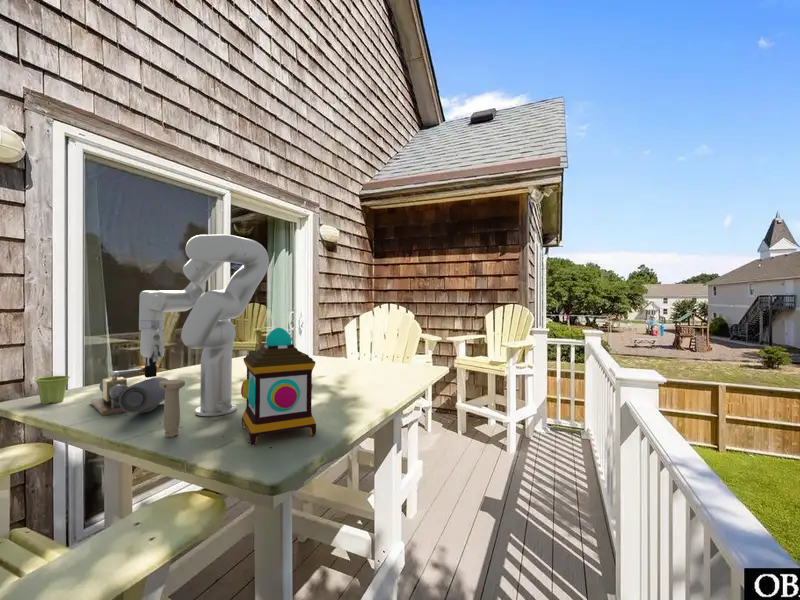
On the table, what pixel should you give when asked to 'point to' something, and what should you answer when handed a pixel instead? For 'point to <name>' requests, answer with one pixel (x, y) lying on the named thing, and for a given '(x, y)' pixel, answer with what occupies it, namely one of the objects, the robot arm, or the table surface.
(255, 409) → the decorative lantern
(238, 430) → the table surface
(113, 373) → the lever
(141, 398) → the bluetooth speaker
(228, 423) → the table surface
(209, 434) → the table surface
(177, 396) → the handle
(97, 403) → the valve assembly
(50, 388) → the plant pot
